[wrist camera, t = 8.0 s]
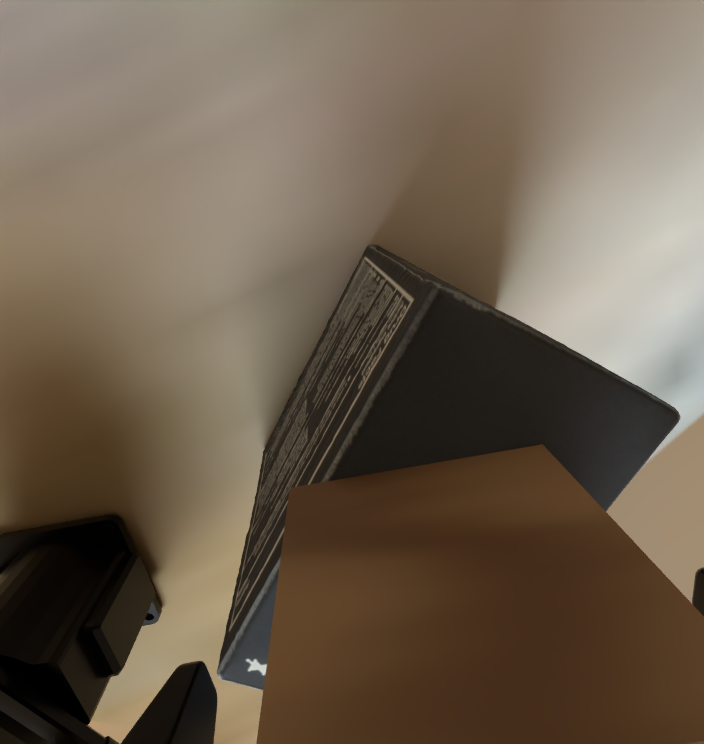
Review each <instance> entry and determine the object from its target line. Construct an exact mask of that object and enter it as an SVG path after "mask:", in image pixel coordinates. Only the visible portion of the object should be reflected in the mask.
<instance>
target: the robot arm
mask: <svg viewBox="0 0 704 744" xmlns="http://www.w3.org/2000/svg"><path fill="white" fill-rule="evenodd" d="M107 524H109V525H112V526H113V527H114V528H111V527H109V526H108V525H107ZM692 603H693V606H694V607H695V608H696V609H697V610H698V611H699V612H700V613H701V614H702V615H703V616H704V568H700V569H698V570H697V572H696V574H695V582H694V590H693V598H692ZM161 612H162V610H161V607H160V604H159V602H158V600H157V597H156V592H155V590H154V587H153V585H152V583H151V580H150V578H149V576H148V573H147V571H146V569H145V567H144V564H143V562H142V560H141V557H140V556H139V555H138V554H137V552H136V549H135V547H134V545H133V543H132V540H131V538H130V536H129V533H128V531H127V529H126V527H125V524H124V522H123V520H122V519H121V518H120V517H119V516H117V515H113V514H110V515H103V516H98V517H93V518H87V519H82V520H77V521H71V522H66V523H60V524H55V525H50V526H44V527H39V528H34V529H28V530H23V531H17V532H12V533H7V534H1V535H0V744H119V743H118V742H116V741H115V740H114V739H112V738H110V737H109V736H107V737H104V736H102V735H101V734H99V733H98V732H97V731H95V730H94V729H92V728H91V727H90V726H88V724H89V723H90V721H91V719H92V717H93V715H94V712H95V710H96V708H97V706H98V704H99V702H100V699H101V697H102V695H103V693H104V691H105V689H106V686H107V684H108V682H109V680H110V678H111V677H112V676H117V675H119V673H120V672H121V670H122V669H123V667H124V665H125V663H126V661H127V658H128V656H129V654H130V652H131V649H132V647H133V645H134V643H135V640H136V638H137V636H138V633H139V631H140V629H141V627H142V626H145V625H150V624H154V623H156V622H157V621H158V619H159V617H160V614H161ZM150 613H151V614H150ZM216 712H217V693H216V689H215V687H214V684H213V682H212V679H211V677H210V675H209V672H208V670H207V667H206V665H205V663H203V662H202V661H195V662H190V663H185V664H182V665H180V666H179V667H178V668H177V669H176V670H175V671H174V672H173V674H172V675H171V676H170V678H169V679H168V680H167V682H166V683H165V685H164V686H163V687H162V689H161V690H160V691H159V693H158V694H157V695H156V697H155V698H154V699H153V701H152V702H151V703H150V705H149V706H148V708H147V709H146V710H145V712H144V713H143V714H142V716H141V717H140V718H139V720H138V721H137V722H136V724H135V725H134V726H133V728H132V729H131V731H130V732H129V733H128V735H127V736H126V737H125V739H124V740H123V741H122V743H121V744H213V743H214V733H215V722H216Z"/></svg>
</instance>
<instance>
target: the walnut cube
mask: <svg viewBox="0 0 704 744" xmlns="http://www.w3.org/2000/svg"><path fill="white" fill-rule="evenodd" d="M257 744H704V616H703V615H702V614H701V613H700V612H699V611H698V610H697V609H696V608H695V607H694V606H693V605H692V604H691V602H690V601H689V600H688V599H687V598H686V597H685V596H684V595H683V594H682V593H681V592H680V591H679V590H678V589H677V587H676V586H674V584H673V583H672V582H671V581H670V580H669V579H668V578H667V577H666V576H665V575H664V574H663V573H662V571H661V570H660V569H659V568H658V567H657V566H656V565H655V564H654V563H653V562H652V561H651V560H650V559H649V558H648V556H646V554H644V552H643V551H642V550H641V549H640V548H639V547H638V546H637V545H636V544H635V543H634V541H633V540H632V539H631V538H630V537H629V536H628V535H627V534H626V533H625V532H624V531H623V530H622V529H621V528H620V527H619V526H618V525H617V523H616V522H615V521H614V520H613V519H612V518H611V517H610V516H609V515H608V514H607V513H606V512H605V510H604V509H603V508H602V507H601V506H600V505H599V504H598V503H597V502H596V501H595V500H594V499H593V498H592V497H591V495H590V494H589V493H588V492H587V491H586V490H585V489H584V488H583V487H582V486H581V485H580V484H579V483H578V482H577V481H576V479H575V478H574V477H573V476H572V475H571V474H570V473H569V472H568V471H567V470H566V469H565V468H564V467H563V466H562V464H561V463H560V462H559V461H558V460H557V459H556V458H555V457H554V456H553V455H552V454H551V453H550V452H549V451H548V450H547V448H546V447H545V446H544V445H543V444H541V445H535V446H530V447H524V448H518V449H512V450H507V451H501V452H495V453H489V454H483V455H478V456H472V457H466V458H460V459H454V460H449V461H443V462H437V463H431V464H426V465H420V466H414V467H408V468H402V469H396V470H391V471H385V472H379V473H373V474H367V475H362V476H356V477H350V478H344V479H338V480H333V481H327V482H321V483H315V484H309V485H304V486H298V487H292V488H290V490H289V497H288V505H287V513H286V520H285V528H284V536H283V544H282V551H281V559H280V567H279V574H278V582H277V590H276V598H275V605H274V613H273V621H272V628H271V636H270V644H269V652H268V659H267V667H266V675H265V683H264V690H263V698H262V706H261V713H260V721H259V729H258V737H257Z"/></svg>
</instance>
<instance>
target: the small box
mask: <svg viewBox="0 0 704 744" xmlns="http://www.w3.org/2000/svg"><path fill="white" fill-rule="evenodd" d="M679 420H680V415H679V412H678V411H677V410H676V409H675V408H674V407H672V406H671V405H669V404H667V403H666V402H664V401H662V400H661V399H659V398H657V397H656V396H654V395H652V394H651V393H649V392H647V391H645V390H644V389H642V388H640V387H639V386H637V385H634V384H633V383H631V382H629V381H627V380H626V379H624V378H622V377H620V376H618V375H617V374H615V373H613V372H611V371H609V370H607V369H606V368H604V367H602V366H601V365H599V364H597V363H595V362H593V361H592V360H590V359H589V358H587V357H585V356H583V355H581V354H579V353H578V352H576V351H574V350H572V349H570V348H568V347H567V346H565V345H564V344H562V343H560V342H558V341H556V340H554V339H552V338H550V337H549V336H547V335H545V334H543V333H541V332H539V331H537V330H535V329H534V328H532V327H530V326H528V325H526V324H524V323H523V322H521V321H519V320H517V319H515V318H513V317H511V316H509V315H507V314H505V313H503V312H501V311H499V310H497V309H495V308H493V307H492V306H489V305H487V304H485V303H483V302H481V301H479V300H477V299H475V298H473V297H471V296H470V295H468V294H466V293H465V292H463V291H460V290H459V289H457V288H455V287H453V286H451V285H449V284H448V283H446V282H444V281H442V280H440V279H438V278H436V277H435V276H433V275H431V274H429V273H427V272H425V271H424V270H422V269H420V268H418V267H416V266H414V265H412V264H410V263H409V262H407V261H405V260H403V259H401V258H399V257H397V256H395V255H394V254H392V253H390V252H388V251H386V250H384V249H383V248H381V247H379V246H377V245H369V246H368V247H367V248H366V250H365V252H364V254H363V257H362V258H361V260H360V262H359V264H358V266H357V268H356V269H355V271H354V273H353V275H352V277H351V279H350V281H349V283H348V285H347V287H346V289H345V291H344V293H343V295H342V297H341V299H340V301H339V303H338V305H337V307H336V309H335V311H334V313H333V315H332V317H331V318H330V319H329V321H328V324H327V326H326V329H325V330H324V332H323V335H322V337H321V338H320V340H319V342H318V344H317V346H316V349H315V350H314V352H313V354H312V356H311V358H310V360H309V362H308V364H307V366H306V368H305V370H304V372H303V374H302V375H301V376H300V378H299V380H298V383H297V385H296V387H295V388H294V391H293V394H292V396H291V397H290V399H289V401H288V404H287V405H286V406H285V409H284V411H283V413H282V415H281V417H280V419H279V422H278V424H277V426H276V428H275V430H274V432H273V434H272V436H271V438H270V440H269V442H268V445H267V446H266V448H265V450H264V451H263V458H262V464H261V469H260V476H259V481H258V487H257V493H256V496H255V503H254V507H253V511H252V517H251V522H250V528H249V531H248V533H247V536H246V540H245V546H244V551H243V554H242V559H241V565H240V568H239V574H238V577H237V583H236V587H235V592H234V595H233V601H232V607H231V610H230V613H229V618H228V622H227V626H226V633H225V637H224V642H223V646H222V649H221V654H220V661H219V665H218V669H217V674H218V677H219V678H220V679H221V680H223V681H227V682H231V683H235V684H240V685H245V686H248V687H251V688H255V689H260V690H264V683H265V675H266V667H267V659H268V652H269V644H270V636H271V628H272V621H273V613H274V605H275V598H276V590H277V582H278V574H279V567H280V559H281V551H282V544H283V536H284V528H285V520H286V513H287V505H288V497H289V490H290V488H292V487H298V486H304V485H309V484H315V483H321V482H327V481H333V480H338V479H344V478H350V477H356V476H362V475H367V474H373V473H379V472H385V471H391V470H396V469H402V468H408V467H414V466H420V465H426V464H431V463H437V462H443V461H449V460H454V459H460V458H466V457H472V456H478V455H483V454H489V453H495V452H501V451H507V450H512V449H518V448H524V447H530V446H535V445H541V444H543V445H544V446H545V447H546V448H547V450H548V451H549V452H550V453H551V454H552V455H553V456H554V457H555V458H556V459H557V460H558V461H559V462H560V463H561V464H562V466H563V467H564V468H565V469H566V470H567V471H568V472H569V473H570V474H571V475H572V476H573V477H574V478H575V479H576V481H577V482H578V483H579V484H580V485H581V486H582V487H583V488H584V489H585V490H586V491H587V492H588V493H589V494H590V495H591V497H592V498H593V499H594V500H595V501H596V502H597V503H598V504H599V505H600V506H601V507H602V508H603V509H604V510H605V512H606V511H607V510H608V508H609V507H610V506H611V504H612V503H613V502H614V501H615V499H616V498H617V497H618V495H619V494H620V493H621V492H622V491H623V489H624V488H625V487H626V486H627V485H628V483H629V482H630V481H631V480H632V478H633V477H634V476H635V475H636V474H637V472H638V471H639V470H640V469H641V467H642V466H643V465H644V464H645V462H646V461H647V460H648V459H649V457H650V456H651V455H652V454H653V452H654V451H655V450H656V448H657V447H658V446H659V445H660V443H661V442H662V441H663V440H664V439H665V437H666V436H667V435H668V434H669V433H670V432H671V430H672V429H673V428H674V427H675V426H676V424H677V423H678V422H679Z"/></svg>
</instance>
